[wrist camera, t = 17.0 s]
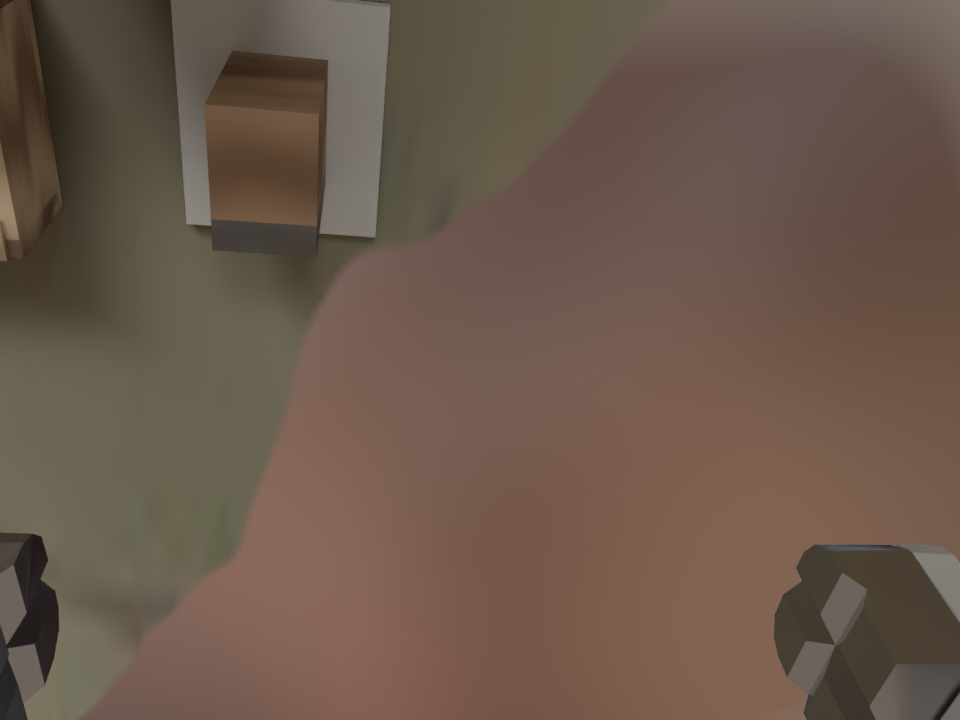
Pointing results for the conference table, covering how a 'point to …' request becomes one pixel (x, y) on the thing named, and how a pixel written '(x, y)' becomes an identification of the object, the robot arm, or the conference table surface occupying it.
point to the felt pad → (299, 33)
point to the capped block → (267, 153)
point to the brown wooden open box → (23, 136)
